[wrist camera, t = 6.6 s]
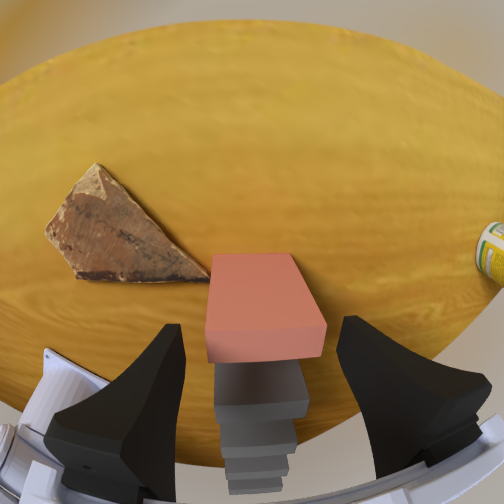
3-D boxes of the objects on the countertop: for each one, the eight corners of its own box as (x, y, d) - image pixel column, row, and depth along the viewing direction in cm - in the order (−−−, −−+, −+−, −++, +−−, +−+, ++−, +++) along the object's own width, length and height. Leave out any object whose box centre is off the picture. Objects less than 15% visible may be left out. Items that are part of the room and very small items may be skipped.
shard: (214, 271, 19) (212, 284, 17) (145, 328, 20) (140, 342, 19) (104, 156, 15) (93, 158, 14) (48, 233, 17) (36, 241, 15)
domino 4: (271, 432, 27) (280, 491, 19) (226, 434, 26) (229, 494, 19) (272, 424, 26) (282, 486, 18) (226, 426, 25) (228, 489, 18)
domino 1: (282, 334, 21) (305, 417, 14) (218, 337, 21) (216, 423, 13) (284, 316, 20) (310, 399, 13) (216, 318, 20) (213, 405, 12)
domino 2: (278, 377, 23) (294, 453, 15) (221, 379, 22) (222, 458, 15) (280, 363, 22) (297, 442, 15) (220, 365, 22) (220, 447, 14)
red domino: (287, 277, 19) (320, 356, 12) (214, 279, 19) (208, 363, 11) (289, 253, 18) (327, 325, 11) (213, 254, 18) (204, 331, 11)
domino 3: (274, 408, 25) (286, 475, 17) (224, 411, 24) (226, 479, 17) (275, 398, 24) (289, 468, 17) (223, 400, 24) (225, 472, 16)
